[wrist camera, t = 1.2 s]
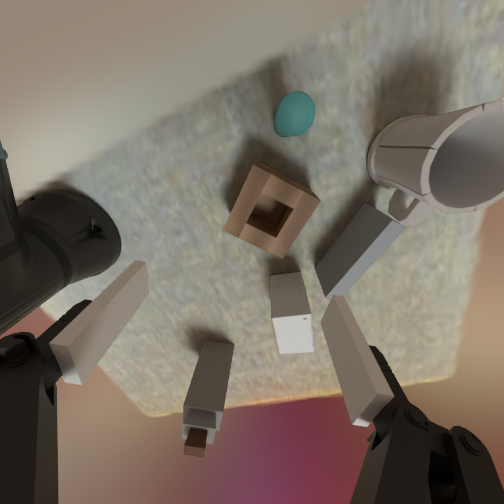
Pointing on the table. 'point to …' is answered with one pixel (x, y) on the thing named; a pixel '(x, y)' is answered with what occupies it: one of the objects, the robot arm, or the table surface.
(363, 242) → the wall
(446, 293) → the table surface
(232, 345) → the perfume bottle
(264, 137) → the table surface
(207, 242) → the table surface
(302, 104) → the dowel
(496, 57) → the table surface
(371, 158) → the cup
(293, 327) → the small box
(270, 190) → the block
